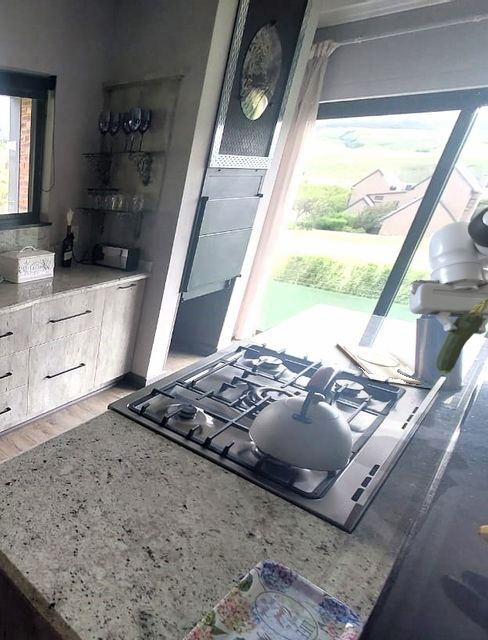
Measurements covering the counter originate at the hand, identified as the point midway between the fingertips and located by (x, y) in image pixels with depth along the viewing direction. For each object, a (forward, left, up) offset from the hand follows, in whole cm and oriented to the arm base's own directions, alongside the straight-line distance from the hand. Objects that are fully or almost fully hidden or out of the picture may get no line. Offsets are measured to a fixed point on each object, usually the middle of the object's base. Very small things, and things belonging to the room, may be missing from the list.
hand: (465, 331), depth 99 cm
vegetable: (0, -1, -12) cm, 12 cm away
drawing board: (+2, -20, -19) cm, 27 cm away
